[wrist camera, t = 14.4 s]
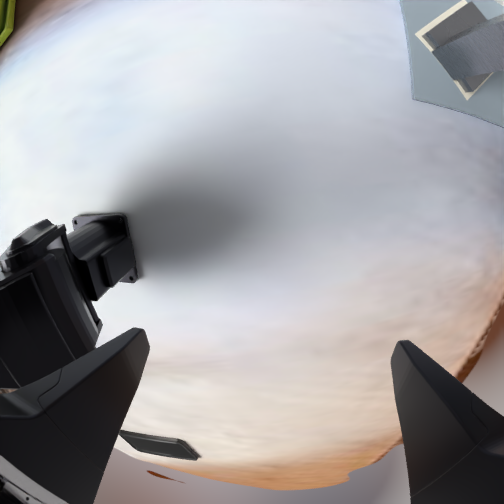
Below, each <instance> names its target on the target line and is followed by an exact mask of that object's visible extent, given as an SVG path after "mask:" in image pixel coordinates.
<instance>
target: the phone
mask: <svg viewBox="0 0 504 504" xmlns="http://www.w3.org/2000/svg"><path fill="white" fill-rule="evenodd" d="M119 435H120V436H121V437H122V438H123V439H124V440H125V441H127V442H128V443H129V444H130V445H131V446H132V447H133V448H134V449H136V450H138V451H140V452H144V453H149V454H154V455H160V456H166V457H172V458H179V459H186V460H195V461H196V460H197V459H198V455H197V454H196V453H195V452H194V451H193V450H192V449H191V448H190V447H189V446H188V445H187V444H186V443H185V442H184V441H182V440H180V439H176V438H167V437H159V436H153V435H146V434H140V433H135V432H129V431H124V430H120V431H119ZM190 450H191V451H192V452H191V451H190Z"/></svg>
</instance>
